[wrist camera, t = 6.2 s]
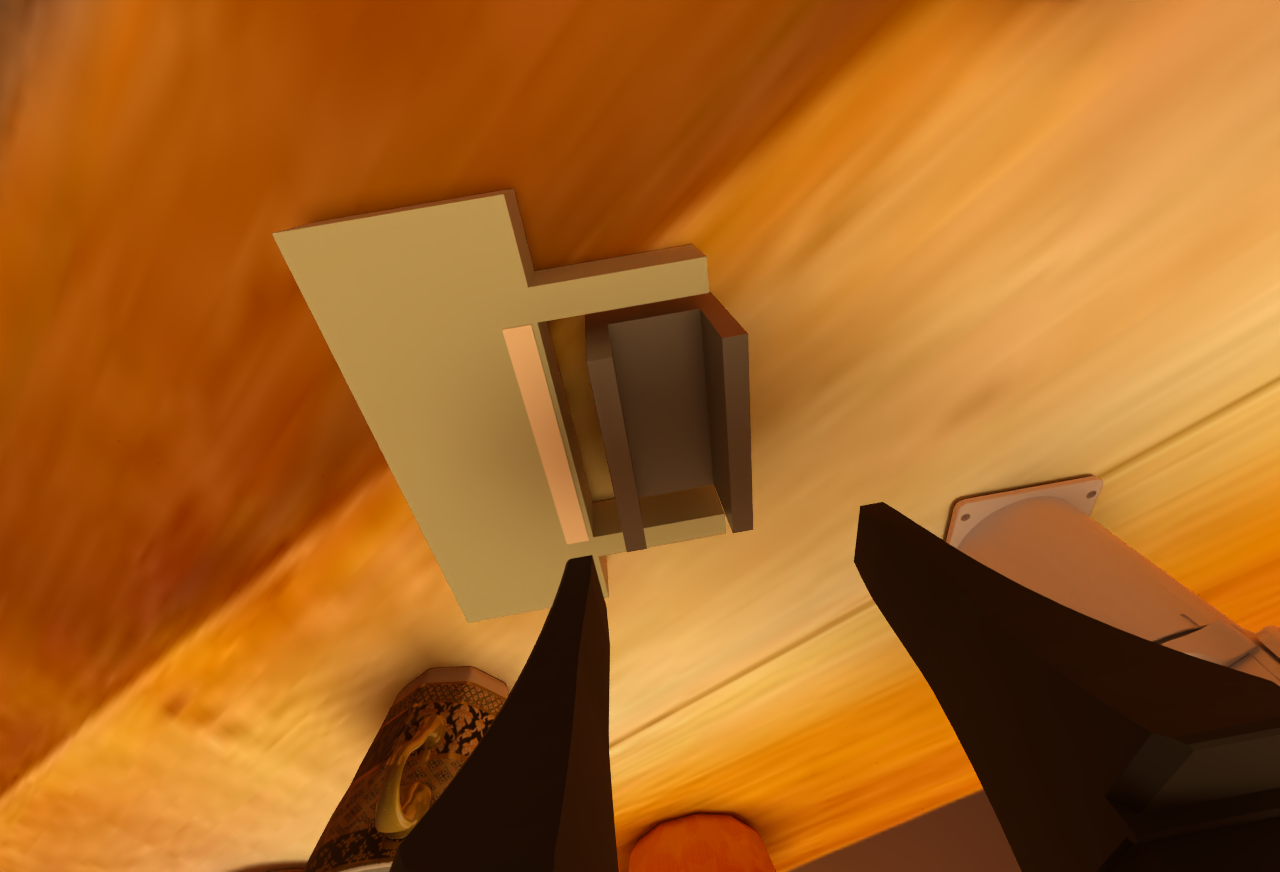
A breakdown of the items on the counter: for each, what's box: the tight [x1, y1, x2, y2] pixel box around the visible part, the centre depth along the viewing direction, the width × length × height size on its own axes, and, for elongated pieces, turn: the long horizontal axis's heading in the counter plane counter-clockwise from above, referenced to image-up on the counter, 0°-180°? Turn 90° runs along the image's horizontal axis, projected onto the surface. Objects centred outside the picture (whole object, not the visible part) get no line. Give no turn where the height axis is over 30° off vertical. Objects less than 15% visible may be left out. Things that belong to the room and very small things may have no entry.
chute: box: [585, 291, 753, 552], centre depth 19 cm, size 8×5×5 cm, turn 8°
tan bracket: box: [272, 188, 726, 623], centre depth 20 cm, size 18×13×3 cm
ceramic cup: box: [303, 667, 508, 872], centre depth 26 cm, size 13×10×10 cm
